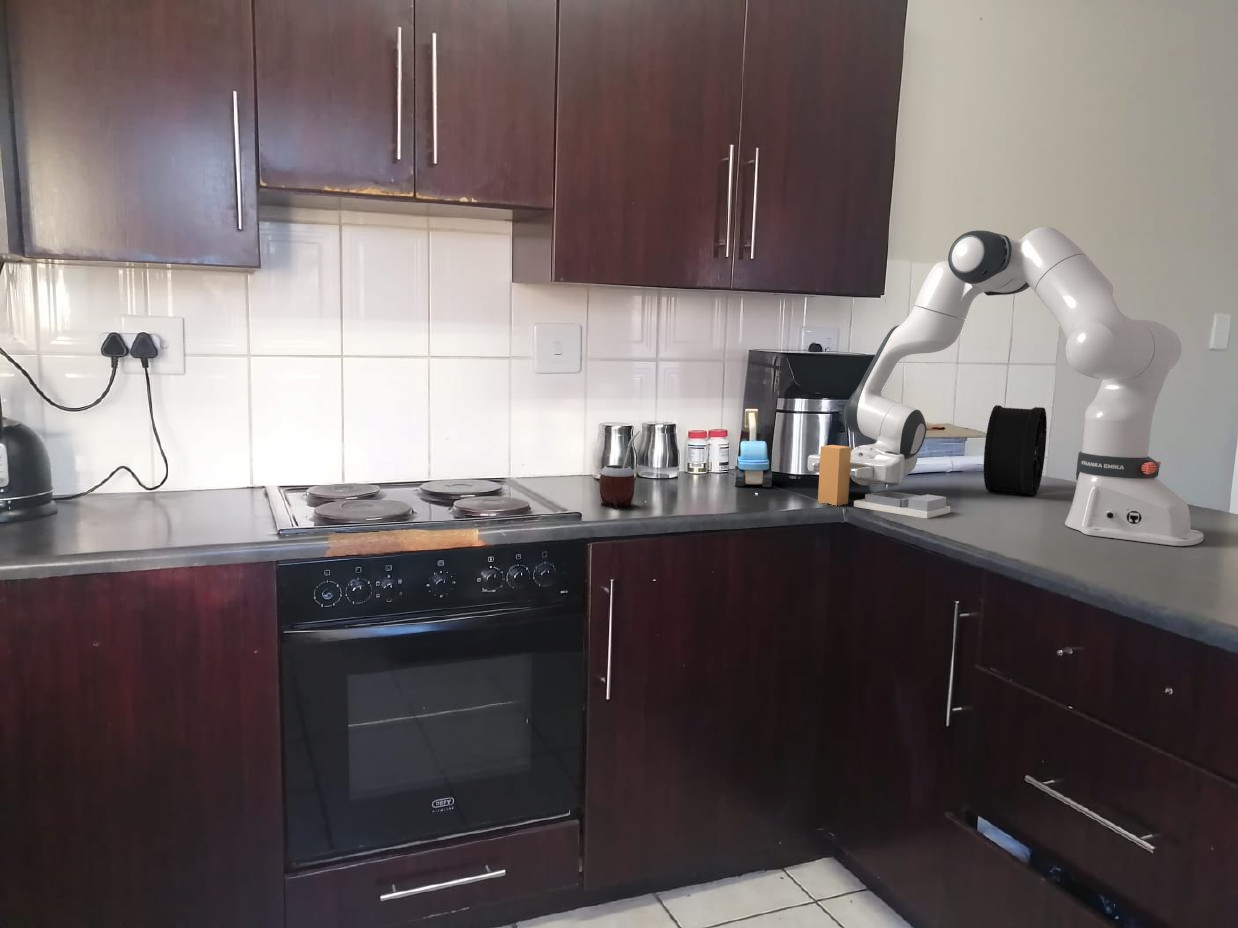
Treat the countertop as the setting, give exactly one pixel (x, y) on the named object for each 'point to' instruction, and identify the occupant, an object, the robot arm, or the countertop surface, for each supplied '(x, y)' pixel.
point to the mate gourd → (618, 483)
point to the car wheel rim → (1015, 449)
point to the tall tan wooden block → (834, 474)
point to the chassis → (904, 504)
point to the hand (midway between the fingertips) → (833, 470)
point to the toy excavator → (753, 457)
